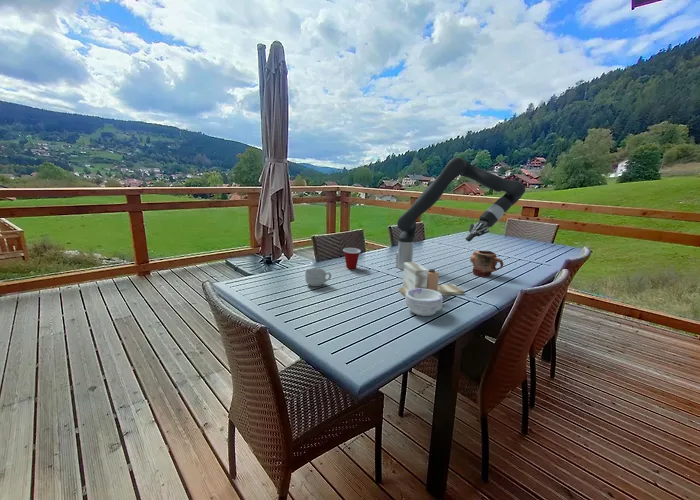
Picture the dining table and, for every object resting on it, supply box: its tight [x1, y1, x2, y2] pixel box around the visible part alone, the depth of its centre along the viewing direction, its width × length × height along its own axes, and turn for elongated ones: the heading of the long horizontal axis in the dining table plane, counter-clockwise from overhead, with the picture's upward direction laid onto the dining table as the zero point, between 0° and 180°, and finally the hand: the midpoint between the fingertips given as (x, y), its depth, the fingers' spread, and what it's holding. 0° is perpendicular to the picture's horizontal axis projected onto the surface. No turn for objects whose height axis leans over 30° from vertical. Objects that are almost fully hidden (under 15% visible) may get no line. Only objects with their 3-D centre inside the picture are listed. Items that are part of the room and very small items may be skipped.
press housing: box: [398, 261, 465, 298], centre depth 146 cm, size 30×14×14 cm, turn 102°
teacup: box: [304, 267, 332, 287], centre depth 154 cm, size 14×11×8 cm
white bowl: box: [404, 288, 444, 317], centre depth 125 cm, size 15×15×8 cm
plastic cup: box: [342, 247, 361, 270], centre depth 183 cm, size 11×11×12 cm
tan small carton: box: [427, 268, 440, 291], centre depth 146 cm, size 5×5×10 cm
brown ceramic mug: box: [469, 249, 504, 278], centre depth 172 cm, size 20×12×14 cm, turn 40°
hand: (467, 240), depth 148 cm, fingers closed
